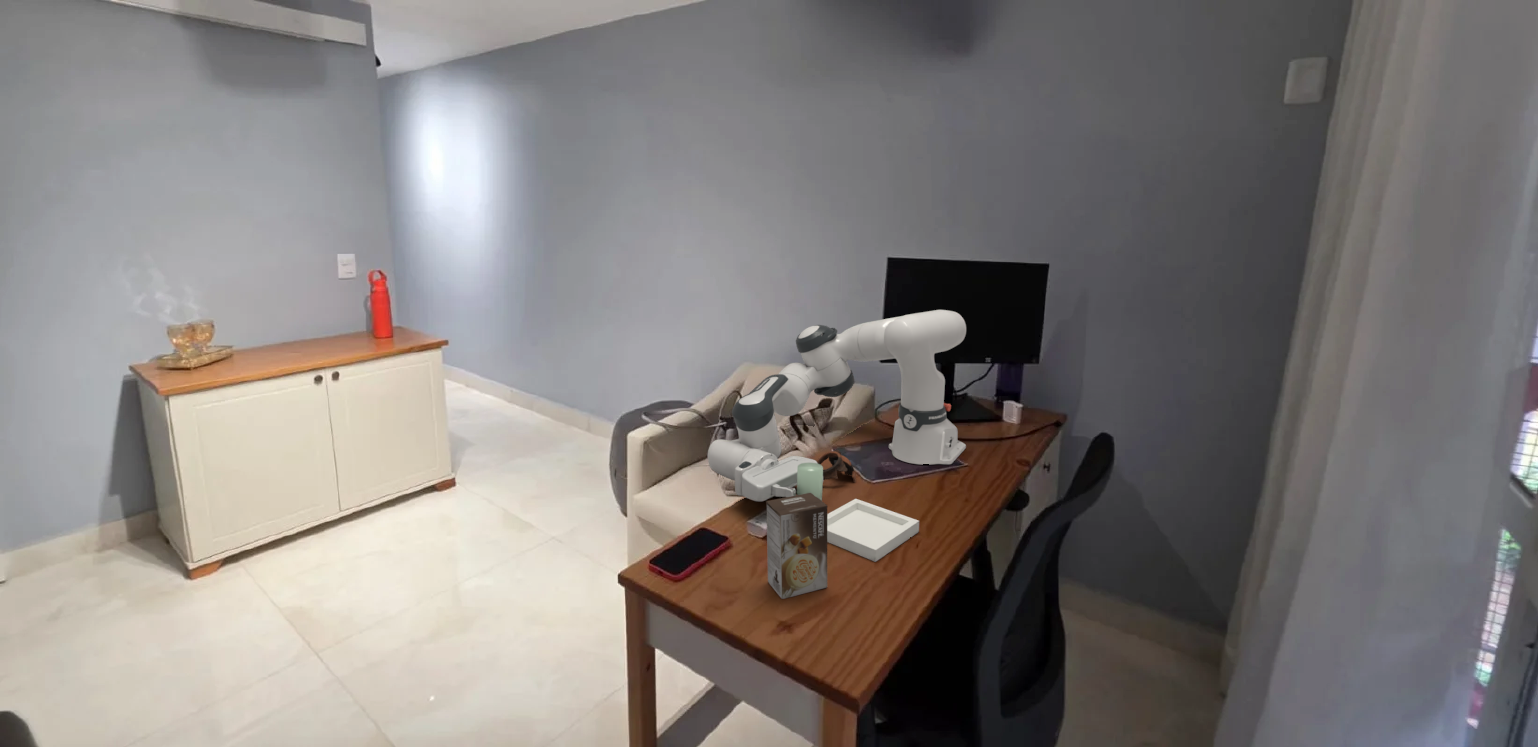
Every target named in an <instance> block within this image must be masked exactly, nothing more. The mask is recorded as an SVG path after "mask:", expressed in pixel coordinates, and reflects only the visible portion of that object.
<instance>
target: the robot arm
mask: <svg viewBox="0 0 1538 747" xmlns="http://www.w3.org/2000/svg"><path fill="white" fill-rule="evenodd" d="M966 335H967V324H966V321H965V319H964V317H962V315H961V314H960V313H958V312H956V311H953V310H948V309H947V310H946V309H936V310H935V309H934V310H929V311H928V310H927V311H923V312H915V313H910V314H905V315H901V316H895V317H890V318H885V319H884V318H883V319H877V320H873V321H867V322H863V323H858V324H856V325H854V326H851V327H849V328H847V329H845V330H843V331H842V332H841V333H838V329H836V328H835V327H830V326H827V325H823V324H816V325H812V326H811V325H810V326H809V327H806V328H805V329H803V330H802V331H801V332H800V333H799V334H798V335H797V337H796V339H795V344H796V348H797V351H798V353H799V354H800V356H801V358H802V360H803V363H801V362H791V363H789V364H787V365H786V366H785V367H784V368H782V369H781V370H780V371H779V372H778V374H777V373H776V374H772V375H769V376H767V377H765V378H764V379H763V380H762V381H760V383H758V384H757V385H756V386H755V387H754V388H753V389H752V390H751V391H750V392H749V393H747V394H745V395H743V396H741V397H740V398H738V400H736V402H735V403H734V405H733V408H732V409H731V414H732V415H731V416H732V418H733V420H734V422H735V426H736V429H737V433H738V437H739V438H736V439H733V440H732V439H731V440H727V439H716V440H714V441H712V443H710V445H709V447H708V450H707V461H708V465H709V468H711V470H712V471H714V472H715V473H716V474H718V475H720V476H721V477H724V478H726V479H729V480H732V481H734V492H735V495H737V496H739V497H744V498H745V499H749V500H751V501H754V502H764V501H765V502H766V501H768V499H771V498H773V497H779V498H781V497H782V498H786V497H791V496H796V495H797V488H795V487H797V469H798V465H799V464H802V463H817V459H816V460H815V459H812V458H808V457H803V456H799V455H791V456H788V457H786V458H783V459H781V460H779V458H780V457H781V455H782V451H783V450H782V442H781V438H780V434H779V430H778V424H777V420H776V416H775V414H776V415H779V416H783V417H791V416H795V415H797V414H799V413H800V412H801V411H802V410H803V408H804V407H805V406H806V404H807V402H808V400H809V398H810V395H811V393H812V392H814V393H815V395H818V396H823V397H828V398H837V397H841V396H842V395H844V394H846V393H847V392H849V391H850V390H852V388H853V386H854V384H855V377H854V373H853V370H852V369H851V368H850V366H849V363H848V361H855V362H877V361H885V360H893V359H895V360H896V362H897V365H898V367H899V372H900V377H901V378H900V379H901V380H900V381H901V383H900V384H901V385H900V386H901V389H900V391H901V392H900V395H901V396H900V402H899V406H898V419H896V420H895V422H894V428H893V435H892V436H893V437H892V442H891V443H889V444H888V448H889V450H891V454H892V456H893V457H894V458H896V459H897V460H900V461H902V462H905V463H909V464H914V465H923V464H929V465H952V464H953V463H954V461H956V459H957V458H958V457H959V456H960V455H961V454H962V453H963V452H964V451H965V449H966V448H967V445H966V444H965V443H964V442H962V441H960V440H958V438H959V437H958V436H959V435H958V434H959V432H958V428H957V427H956V426H955V424H954V423H952V422H951V421H950V420H949V419H948V418H947V412H950V411H951V409H952V405H951V403H946V402H945V401H944V400H945V391H946V390H945V385H946V379H945V376H944V374H943V373H942V372H941V371H939V370H938V369H937V366H936V362H935V354H938V353H941V352H942V353H943V352H947V351H949V350H951V349H953V348H955V347H957V346H959V345H960V344H961V343H962V342H963V341H964V340H965V337H966ZM817 464H818V463H817Z"/></svg>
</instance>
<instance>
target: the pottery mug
mask: <svg viewBox="0 0 1538 747" xmlns="http://www.w3.org/2000/svg"><path fill="white" fill-rule="evenodd" d="M826 460H828V461H829V462H830V464H831V466H830V467H829V468H825V469H823V481H825V480H830V479H836V480H839V478H838V472H844V476H851V478H852V481H853V483H854V484H856V482H857V477H856V472H855V469H854V466H853V464H852V462H851V461H850V460H849V459H848V458H847V457H846V456H844V455H842V452H841V451H840V450H839V449H834V450H832V451H828V452H826V453H824V454H822V455H820V456H819V458H818V459H816V461H817V463H818V464H820V465H822V463H824V461H826Z"/></svg>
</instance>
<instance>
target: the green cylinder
mask: <svg viewBox="0 0 1538 747" xmlns="http://www.w3.org/2000/svg"><path fill="white" fill-rule="evenodd" d="M823 470H824V466H823V464H817V463H802V464H799V465H798V469H797V485H796V495H801V494H806V493H812V494H813V495H814V496H816V497H818V498H819V499H820V500H821V501H822V502H823V483H824V480H823Z"/></svg>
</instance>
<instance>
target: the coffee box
mask: <svg viewBox="0 0 1538 747" xmlns="http://www.w3.org/2000/svg"><path fill="white" fill-rule="evenodd" d="M765 504H766V542H767V543H766V544H767V546H766V547H767V548H766V550H767V553H766V554H767V583H768V584H769V585H770V586H771V587H772V589H773V590H774V591H775V592H776V594H777V595H778V596H779V597H780V599H782V600H784V599H788V598H792V597H796V596H799V595H803V594H807V593H810V592H815V591H818V590H822V589H826V588H828V542H827V514H828V504H826V503H825V502H823V500H822V501H821V500H820V499H819V498H818V497H816V496H814V495H813V494H812V493H806V494H801V495H797V494H796V496H791V497H782V498H781V497H780V498H777V499H772V500H765Z"/></svg>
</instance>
